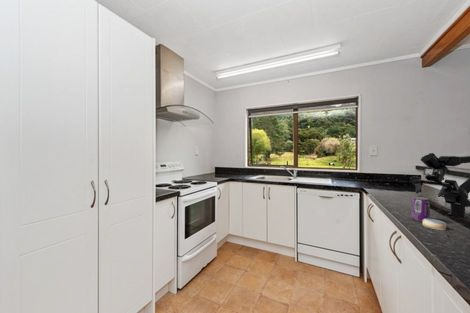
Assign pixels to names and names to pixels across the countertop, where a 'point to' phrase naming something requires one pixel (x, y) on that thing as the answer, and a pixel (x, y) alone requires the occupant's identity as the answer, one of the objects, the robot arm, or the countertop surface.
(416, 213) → the beverage can
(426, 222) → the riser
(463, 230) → the countertop surface
